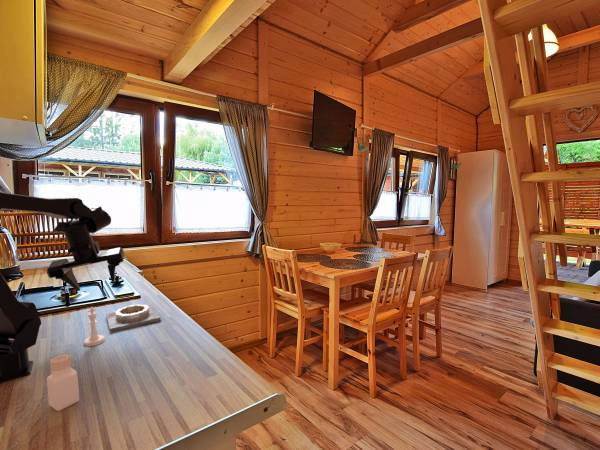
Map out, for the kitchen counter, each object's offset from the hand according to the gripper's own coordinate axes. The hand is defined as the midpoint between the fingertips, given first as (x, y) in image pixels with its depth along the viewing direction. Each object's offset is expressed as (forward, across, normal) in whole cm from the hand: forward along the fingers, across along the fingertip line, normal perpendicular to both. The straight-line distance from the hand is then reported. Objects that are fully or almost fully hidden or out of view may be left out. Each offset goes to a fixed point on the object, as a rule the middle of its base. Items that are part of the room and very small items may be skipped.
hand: (96, 286), depth 95 cm
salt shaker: (+3, +1, +40) cm, 41 cm away
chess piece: (+10, +1, +14) cm, 17 cm away
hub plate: (+14, -7, +1) cm, 16 cm away
